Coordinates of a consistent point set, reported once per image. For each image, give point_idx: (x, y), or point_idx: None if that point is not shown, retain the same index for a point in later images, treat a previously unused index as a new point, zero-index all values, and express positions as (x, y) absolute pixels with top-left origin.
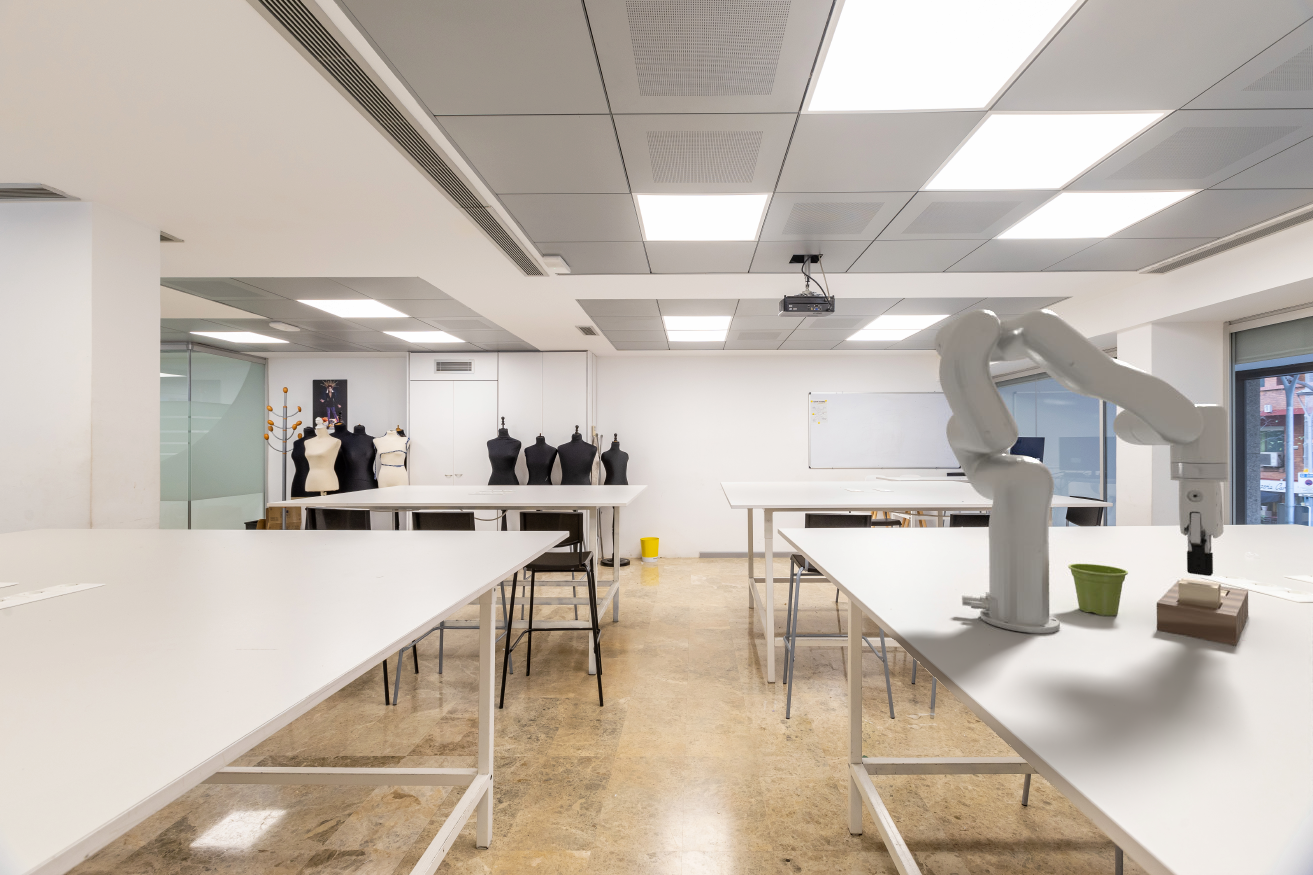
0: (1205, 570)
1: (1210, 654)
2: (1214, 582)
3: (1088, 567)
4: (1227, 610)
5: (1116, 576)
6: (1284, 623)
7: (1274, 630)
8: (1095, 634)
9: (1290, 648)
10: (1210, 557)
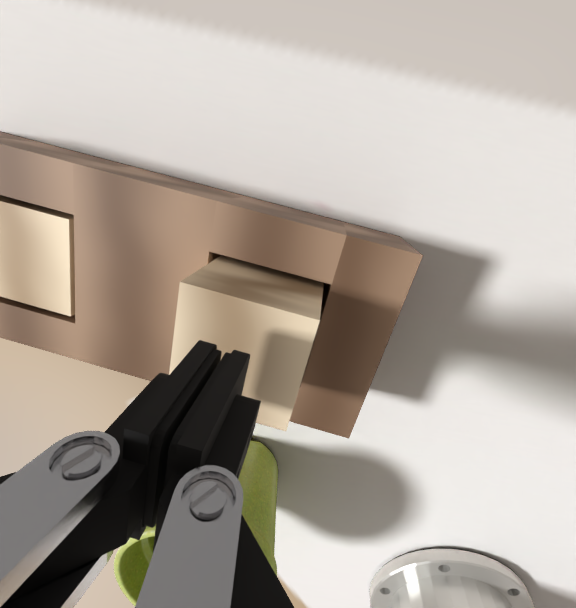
0: (239, 387)
1: (528, 314)
2: (180, 302)
3: (138, 581)
4: (344, 265)
5: None
6: (12, 38)
7: (136, 91)
8: (463, 497)
9: (344, 93)
10: (214, 431)
